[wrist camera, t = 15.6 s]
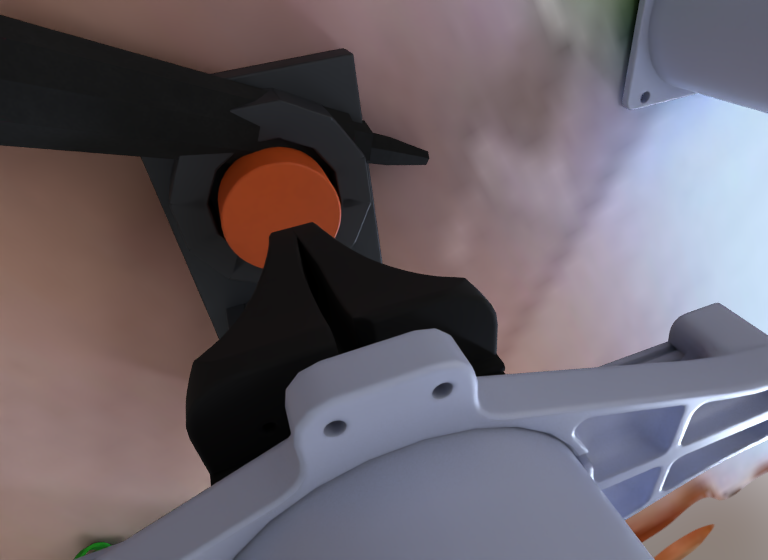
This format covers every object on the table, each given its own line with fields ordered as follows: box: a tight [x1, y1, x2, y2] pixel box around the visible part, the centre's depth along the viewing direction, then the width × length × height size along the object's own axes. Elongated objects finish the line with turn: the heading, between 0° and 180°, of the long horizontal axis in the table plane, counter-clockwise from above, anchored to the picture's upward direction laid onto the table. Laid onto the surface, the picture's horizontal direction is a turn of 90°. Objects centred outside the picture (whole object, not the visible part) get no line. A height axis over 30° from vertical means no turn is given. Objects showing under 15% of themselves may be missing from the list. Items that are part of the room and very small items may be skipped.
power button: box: [218, 147, 341, 268], centre depth 17 cm, size 4×4×2 cm
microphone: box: [0, 15, 429, 172], centre depth 16 cm, size 6×6×20 cm
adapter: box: [141, 48, 382, 339], centre depth 21 cm, size 8×16×3 cm, turn 7°
